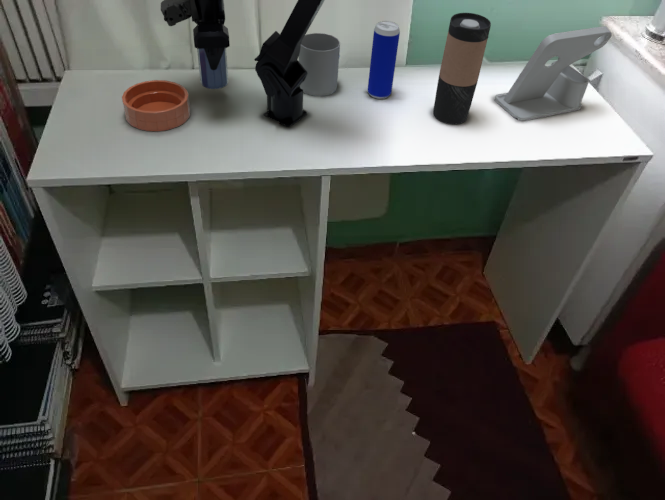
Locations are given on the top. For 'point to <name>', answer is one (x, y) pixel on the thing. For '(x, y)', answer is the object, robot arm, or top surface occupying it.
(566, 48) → the phone holder
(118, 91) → the top surface
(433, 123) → the top surface
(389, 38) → the beverage can
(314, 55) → the cup
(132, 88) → the bowl
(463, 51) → the travel mug
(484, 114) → the top surface
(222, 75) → the tumbler
